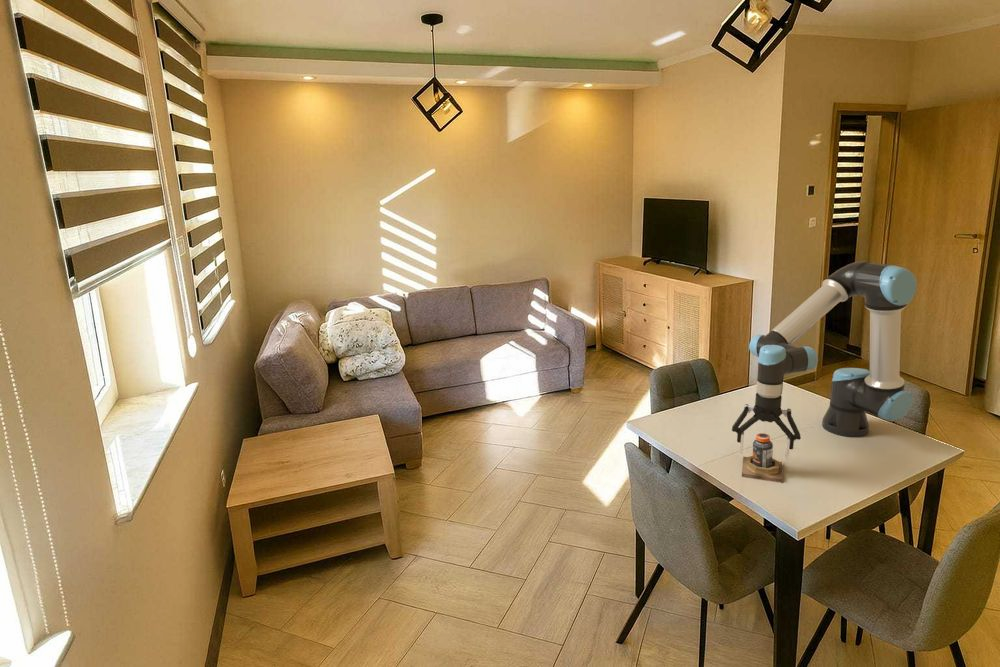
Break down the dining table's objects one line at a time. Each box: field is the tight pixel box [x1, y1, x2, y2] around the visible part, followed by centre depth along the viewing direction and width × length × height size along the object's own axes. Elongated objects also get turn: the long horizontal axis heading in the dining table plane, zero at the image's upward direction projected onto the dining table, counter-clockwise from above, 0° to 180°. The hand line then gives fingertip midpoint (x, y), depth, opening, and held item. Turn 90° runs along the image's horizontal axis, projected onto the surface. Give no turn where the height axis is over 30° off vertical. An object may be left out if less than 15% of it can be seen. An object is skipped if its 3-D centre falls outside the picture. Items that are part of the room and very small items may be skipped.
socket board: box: [741, 455, 784, 484], centre depth 199 cm, size 12×12×3 cm
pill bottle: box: [752, 433, 774, 468], centre depth 197 cm, size 6×6×11 cm
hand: (763, 454), depth 198 cm, fingers open, 13 cm apart
